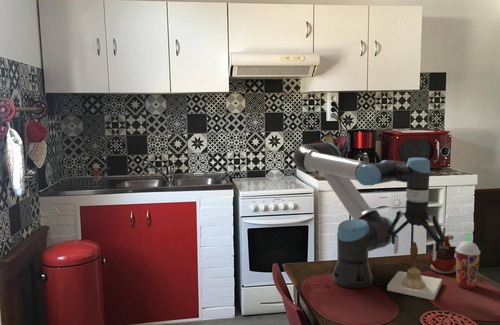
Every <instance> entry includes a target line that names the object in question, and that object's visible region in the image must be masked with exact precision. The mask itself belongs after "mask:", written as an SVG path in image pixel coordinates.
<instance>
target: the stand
mask: <svg viewBox="0 0 500 325" xmlns="http://www.w3.org/2000/svg"><path fill="white" fill-rule="evenodd" d="M406 276H407V272H405V271H400V270H399V271H397V272H396V273H395V275H394V276H393V278H391V279H390V280H389V282H388V284H387V287H386V289H387V290H386V291H389V292H393V293H399V294H403V295H408V296H413V297H417V298H421V299H427V300H431V301H434V300H435V298H436V296H437V295H438V292H439V291H440V289H441V287H442V285H443V279H442V278H436V277H433V276H426V275H421V278H422V281H423V282H424V283H425V285H426V287H425V288H422V289H412V288H408V287H405V286H404V285H402V281H403V280H404V279H405V278H406Z"/></svg>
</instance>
